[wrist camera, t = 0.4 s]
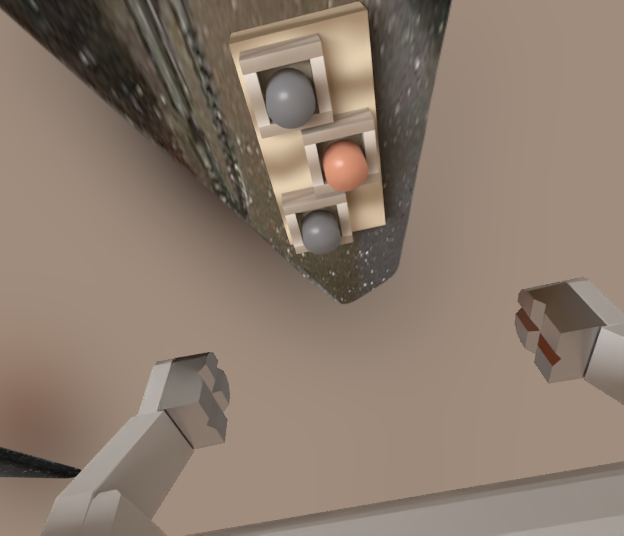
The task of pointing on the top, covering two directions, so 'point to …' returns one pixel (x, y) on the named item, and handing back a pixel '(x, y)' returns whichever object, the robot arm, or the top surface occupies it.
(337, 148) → the middle button
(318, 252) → the button
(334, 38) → the control panel
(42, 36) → the top surface
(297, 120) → the button
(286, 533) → the robot arm
